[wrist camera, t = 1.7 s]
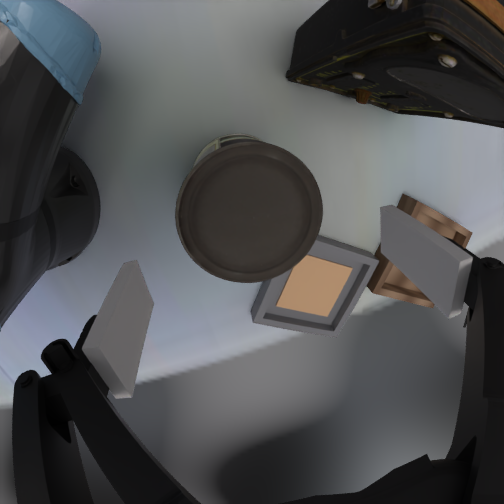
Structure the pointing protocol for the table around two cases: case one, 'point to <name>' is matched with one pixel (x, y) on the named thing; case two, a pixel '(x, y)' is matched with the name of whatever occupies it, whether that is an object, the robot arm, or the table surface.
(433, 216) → the walnut tray
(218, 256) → the coffee can
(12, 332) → the table surface
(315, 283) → the checker cradle
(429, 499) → the robot arm
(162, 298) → the table surface
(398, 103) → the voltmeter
